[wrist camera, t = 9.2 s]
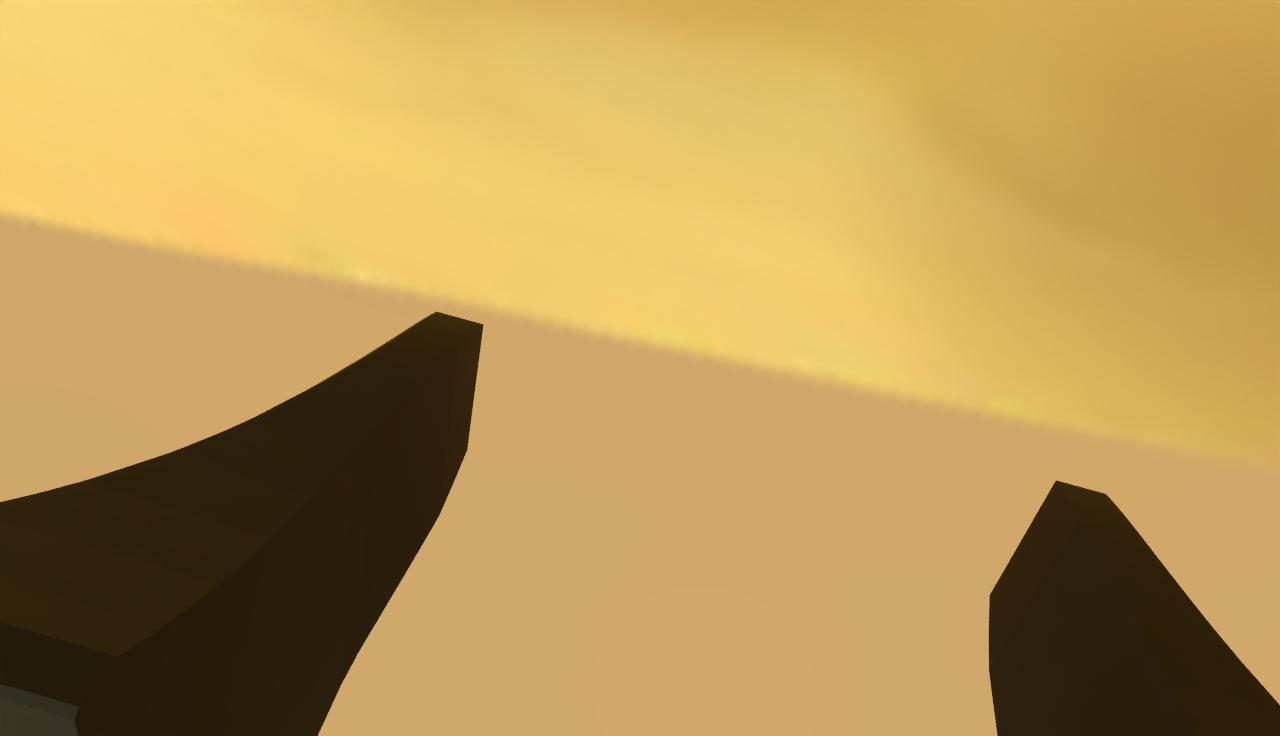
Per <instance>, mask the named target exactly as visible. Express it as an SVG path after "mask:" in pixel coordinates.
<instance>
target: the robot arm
mask: <svg viewBox="0 0 1280 736" xmlns="http://www.w3.org/2000/svg"><path fill="white" fill-rule="evenodd" d="M482 330H483V324H480V323H476V322H472V321H468V320H465V319H461V318H458V317H454V316H450V315H447V314H443V313H439V312H435V313H433V314H431V315H430V316H428V317H426V318H424V319H423V320H421V321H420V322H418V323H416V324H415V325H413V326H412V327H410V328H408V329H407V330H405V331H404V332H402V333H401V334H399V335H397V336H396V337H394V338H393V339H391V340H390V341H388V342H386V343H385V344H383V345H382V346H380V347H379V348H377V349H375V350H374V351H372V352H370V353H369V354H367V355H366V356H364V357H362V358H361V359H359V360H358V361H356V362H354V363H352V364H351V365H349V366H347V367H346V368H344V369H342V370H341V371H339V372H337V373H335V374H334V375H332V376H330V377H329V378H327V379H325V380H324V381H322V382H320V383H319V384H317V385H315V386H313V387H312V388H310V389H308V390H306V391H305V392H302V393H300V394H298V395H297V396H295V397H293V398H291V399H289V400H287V401H285V402H283V403H281V404H279V405H278V406H275V407H273V408H272V409H270V410H268V411H266V412H264V413H262V414H260V415H258V416H256V417H254V418H252V419H250V420H248V421H246V422H244V423H241V424H239V425H237V426H234V427H232V428H230V429H228V430H225V431H223V432H221V433H218V434H216V435H214V436H211V437H209V438H206V439H204V440H201V441H199V442H196V443H194V444H191V445H189V446H186V447H184V448H181V449H179V450H176V451H174V452H171V453H168V454H165V455H162V456H159V457H156V458H153V459H150V460H147V461H144V462H141V463H138V464H135V465H132V466H129V467H126V468H123V469H120V470H116V471H114V472H110V473H108V474H104V475H101V476H98V477H95V478H92V479H89V480H85V481H82V482H79V483H75V484H71V485H67V486H63V487H60V488H56V489H52V490H49V491H45V492H41V493H37V494H33V495H29V496H25V497H20V498H17V499H12V500H8V501H4V502H0V736H318V733H319V731H320V729H321V727H322V725H323V723H324V721H325V719H326V716H327V714H328V712H329V710H330V708H331V705H332V703H333V701H334V699H335V696H336V695H337V692H338V690H339V688H340V686H341V684H342V682H343V680H344V678H345V677H346V675H347V673H348V671H349V669H350V667H351V665H352V663H353V662H354V660H355V658H356V656H357V654H358V652H359V651H360V649H361V647H362V646H363V644H364V642H365V640H366V639H367V637H368V635H369V634H370V632H371V630H372V629H373V627H374V625H375V624H376V622H377V620H378V618H379V617H380V615H381V613H382V612H383V610H384V608H385V607H386V605H387V603H388V602H389V600H390V598H391V597H392V595H393V593H394V592H395V590H396V588H397V587H398V585H399V583H400V581H401V580H402V578H403V576H404V575H405V573H406V571H407V570H408V568H409V566H410V565H411V563H412V561H413V560H414V558H415V556H416V554H417V553H418V551H419V549H420V548H421V546H422V544H423V543H424V541H425V539H426V537H427V536H428V534H429V532H430V531H431V529H432V527H433V525H434V524H435V522H436V520H437V518H438V517H439V515H440V512H441V510H442V508H443V506H444V503H445V501H446V498H447V496H448V494H449V492H450V489H451V487H452V485H453V483H454V480H455V478H456V475H457V473H458V471H459V468H460V466H461V463H462V461H463V459H464V456H465V454H466V451H467V447H468V439H469V431H470V422H471V416H472V408H473V400H474V392H475V384H476V377H477V369H478V362H479V354H480V346H481V339H482ZM989 672H990V681H991V689H992V696H993V704H994V712H995V719H996V727H997V734H998V736H1280V705H1279V704H1278V703H1277V701H1276V700H1275V699H1274V698H1273V697H1272V696H1271V695H1270V694H1269V692H1267V690H1266V689H1265V688H1264V687H1263V686H1262V685H1261V683H1260V682H1259V681H1258V680H1257V679H1256V678H1255V677H1254V676H1253V675H1252V673H1251V672H1250V671H1249V670H1248V669H1247V668H1246V667H1245V665H1244V664H1243V663H1242V662H1241V661H1240V660H1239V658H1238V657H1237V656H1236V655H1235V654H1234V653H1233V651H1232V650H1231V649H1230V648H1229V646H1228V645H1227V644H1226V643H1225V642H1224V641H1223V639H1222V638H1221V637H1220V636H1219V635H1218V633H1217V632H1216V631H1215V630H1214V628H1213V627H1212V626H1211V625H1210V624H1209V622H1208V621H1207V620H1206V619H1205V617H1204V616H1203V615H1202V614H1201V613H1200V611H1199V610H1198V609H1197V607H1196V606H1195V605H1194V604H1193V602H1192V601H1191V600H1190V599H1189V597H1188V596H1187V595H1186V593H1185V592H1184V591H1183V590H1182V588H1181V587H1180V586H1179V585H1178V583H1177V582H1176V581H1175V579H1174V578H1173V577H1172V576H1171V574H1170V573H1169V572H1168V570H1167V569H1166V568H1165V567H1164V565H1163V564H1162V563H1161V561H1160V560H1159V559H1158V558H1157V556H1156V555H1155V554H1154V552H1153V551H1152V550H1151V548H1150V547H1149V546H1148V545H1147V543H1146V542H1145V541H1144V540H1143V538H1142V537H1141V536H1140V534H1139V533H1138V532H1137V531H1136V529H1135V528H1134V527H1133V525H1132V524H1131V523H1130V522H1129V520H1128V519H1127V518H1126V517H1125V516H1124V514H1123V513H1122V512H1121V511H1120V510H1119V508H1118V507H1117V506H1116V505H1115V504H1114V503H1113V501H1112V500H1111V499H1110V498H1109V497H1108V496H1107V495H1106V494H1104V493H1100V492H1096V491H1093V490H1089V489H1085V488H1082V487H1078V486H1074V485H1071V484H1067V483H1063V482H1060V481H1056V482H1055V483H1054V485H1053V487H1052V488H1051V490H1050V492H1049V494H1048V495H1047V497H1046V499H1045V501H1044V502H1043V504H1042V506H1041V507H1040V509H1039V511H1038V513H1037V514H1036V516H1035V518H1034V520H1033V521H1032V523H1031V525H1030V527H1029V528H1028V530H1027V532H1026V534H1025V535H1024V537H1023V539H1022V540H1021V542H1020V544H1019V546H1018V547H1017V549H1016V551H1015V552H1014V554H1013V556H1012V558H1011V559H1010V561H1009V563H1008V565H1007V567H1006V568H1005V570H1004V572H1003V573H1002V575H1001V577H1000V579H999V580H998V582H997V584H996V585H995V587H994V589H993V591H992V592H991V594H990V608H989Z"/></svg>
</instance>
